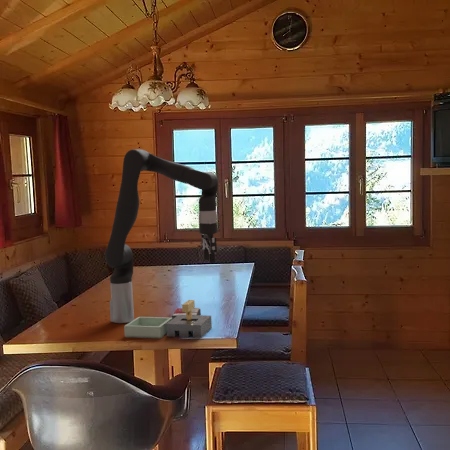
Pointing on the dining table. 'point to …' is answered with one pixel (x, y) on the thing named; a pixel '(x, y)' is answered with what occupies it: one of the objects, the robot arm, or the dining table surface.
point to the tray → (147, 327)
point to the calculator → (179, 312)
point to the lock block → (189, 326)
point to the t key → (188, 309)
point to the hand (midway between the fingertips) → (209, 261)
